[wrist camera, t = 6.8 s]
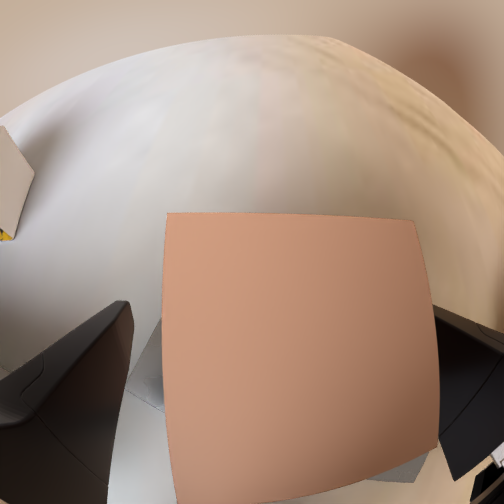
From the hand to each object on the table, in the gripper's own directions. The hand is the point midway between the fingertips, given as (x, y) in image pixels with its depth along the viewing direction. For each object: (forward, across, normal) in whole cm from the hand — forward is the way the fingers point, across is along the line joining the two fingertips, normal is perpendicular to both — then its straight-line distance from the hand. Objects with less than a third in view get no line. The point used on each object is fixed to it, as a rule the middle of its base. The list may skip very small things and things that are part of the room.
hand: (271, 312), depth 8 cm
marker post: (+4, 0, +6) cm, 8 cm away
